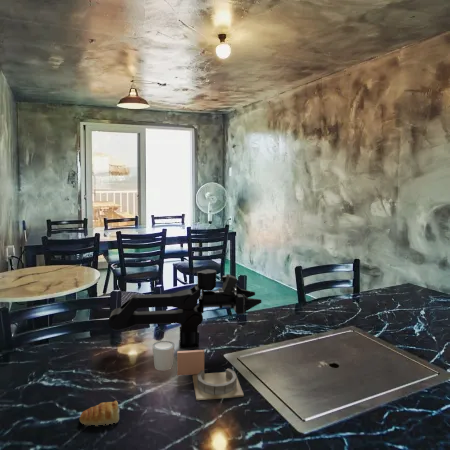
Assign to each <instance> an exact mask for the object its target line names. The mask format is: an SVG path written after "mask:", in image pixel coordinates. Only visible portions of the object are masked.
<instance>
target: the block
mask: <svg viewBox="0 0 450 450" xmlns="http://www.w3.org/2000/svg"><path fill="white" fill-rule="evenodd" d="M176 359H177V360H176V361H177V363H176V367H177V368H176V373H177V376H189V375H191V376H192V374H198V373H199V372H200V371H201V370H203V371H204V372H205V349H194V350H177V354H176Z"/></svg>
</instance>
